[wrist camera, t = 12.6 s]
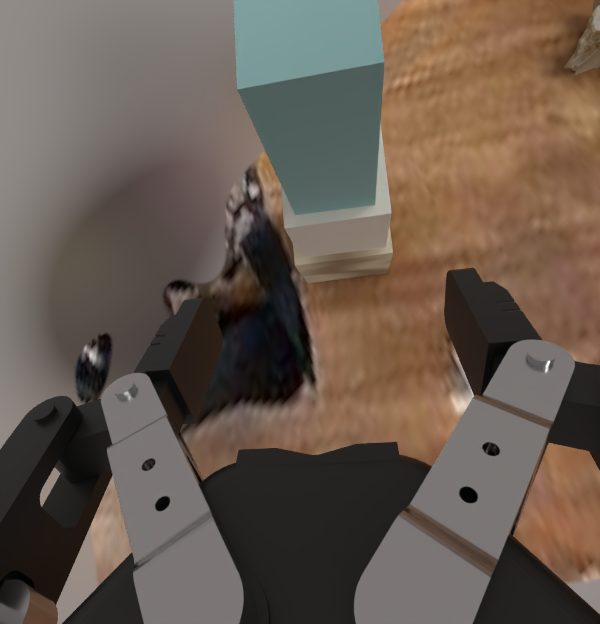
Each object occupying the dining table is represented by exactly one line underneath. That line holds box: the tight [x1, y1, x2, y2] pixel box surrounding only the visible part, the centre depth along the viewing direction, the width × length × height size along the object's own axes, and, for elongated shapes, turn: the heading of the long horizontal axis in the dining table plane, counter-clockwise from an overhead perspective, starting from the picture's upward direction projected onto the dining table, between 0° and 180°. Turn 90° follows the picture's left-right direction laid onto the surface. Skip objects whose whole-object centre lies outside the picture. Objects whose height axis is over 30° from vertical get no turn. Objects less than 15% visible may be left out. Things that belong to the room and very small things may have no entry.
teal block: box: [234, 0, 384, 215], centre depth 17 cm, size 4×4×10 cm
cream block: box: [281, 124, 391, 258], centre depth 24 cm, size 6×6×6 cm
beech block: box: [293, 225, 393, 283], centre depth 30 cm, size 7×7×6 cm
